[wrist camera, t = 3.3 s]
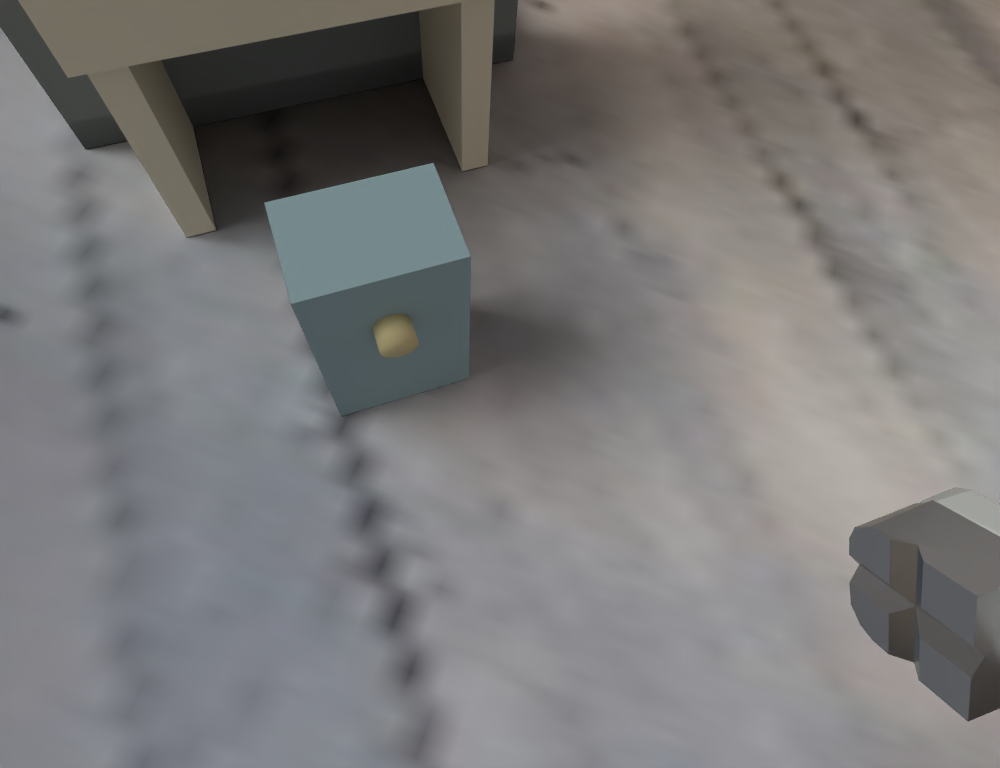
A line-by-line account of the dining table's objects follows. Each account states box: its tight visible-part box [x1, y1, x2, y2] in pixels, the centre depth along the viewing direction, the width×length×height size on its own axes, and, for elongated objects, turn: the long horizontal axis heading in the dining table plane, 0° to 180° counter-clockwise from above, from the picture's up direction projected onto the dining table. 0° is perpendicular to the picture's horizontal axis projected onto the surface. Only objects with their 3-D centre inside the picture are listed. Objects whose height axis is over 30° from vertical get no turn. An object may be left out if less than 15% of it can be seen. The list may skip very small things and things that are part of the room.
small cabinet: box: [264, 163, 471, 416], centre depth 22 cm, size 5×4×8 cm
